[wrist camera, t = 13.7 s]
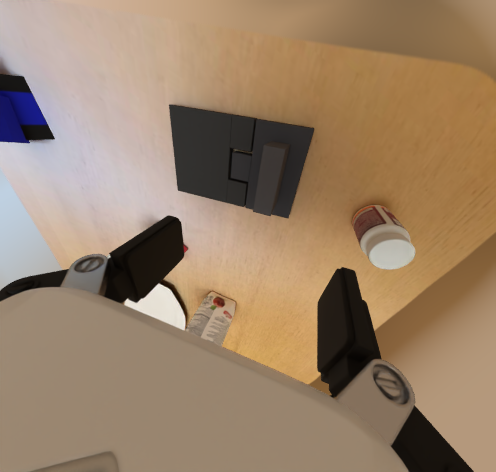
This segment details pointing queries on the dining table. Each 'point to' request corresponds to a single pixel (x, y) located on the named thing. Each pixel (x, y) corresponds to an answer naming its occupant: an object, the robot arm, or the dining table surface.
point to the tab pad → (254, 161)
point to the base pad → (210, 152)
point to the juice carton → (212, 318)
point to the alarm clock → (20, 112)
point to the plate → (161, 306)
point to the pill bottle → (382, 237)
